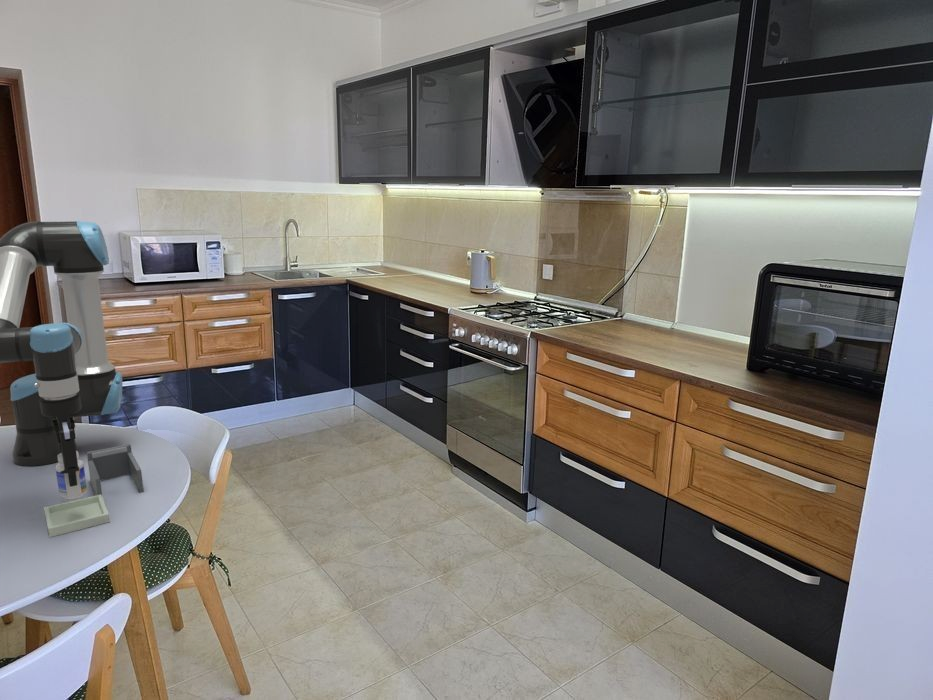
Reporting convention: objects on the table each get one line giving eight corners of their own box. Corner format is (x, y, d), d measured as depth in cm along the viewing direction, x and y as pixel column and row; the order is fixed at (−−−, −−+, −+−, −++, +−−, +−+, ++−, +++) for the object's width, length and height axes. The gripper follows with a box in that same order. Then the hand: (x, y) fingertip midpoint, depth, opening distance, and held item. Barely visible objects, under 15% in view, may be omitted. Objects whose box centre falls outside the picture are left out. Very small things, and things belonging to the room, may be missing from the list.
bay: (90, 480, 164) (86, 452, 163) (133, 471, 170) (130, 443, 168) (98, 502, 154) (94, 471, 152) (143, 491, 159) (140, 462, 157)
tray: (45, 515, 147) (44, 507, 147) (102, 501, 154) (101, 494, 153) (49, 537, 138) (48, 529, 138) (109, 521, 145) (108, 514, 144)
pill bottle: (74, 500, 141) (68, 459, 139) (53, 497, 142) (47, 457, 140) (93, 489, 146) (87, 450, 144) (72, 486, 147) (67, 447, 145)
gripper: (36, 387, 144) (50, 481, 149) (42, 410, 129) (57, 513, 135) (74, 382, 148) (87, 473, 154) (84, 403, 134) (98, 503, 139)
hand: (73, 492), depth 144 cm, fingers closed on pill bottle, 5 cm apart
